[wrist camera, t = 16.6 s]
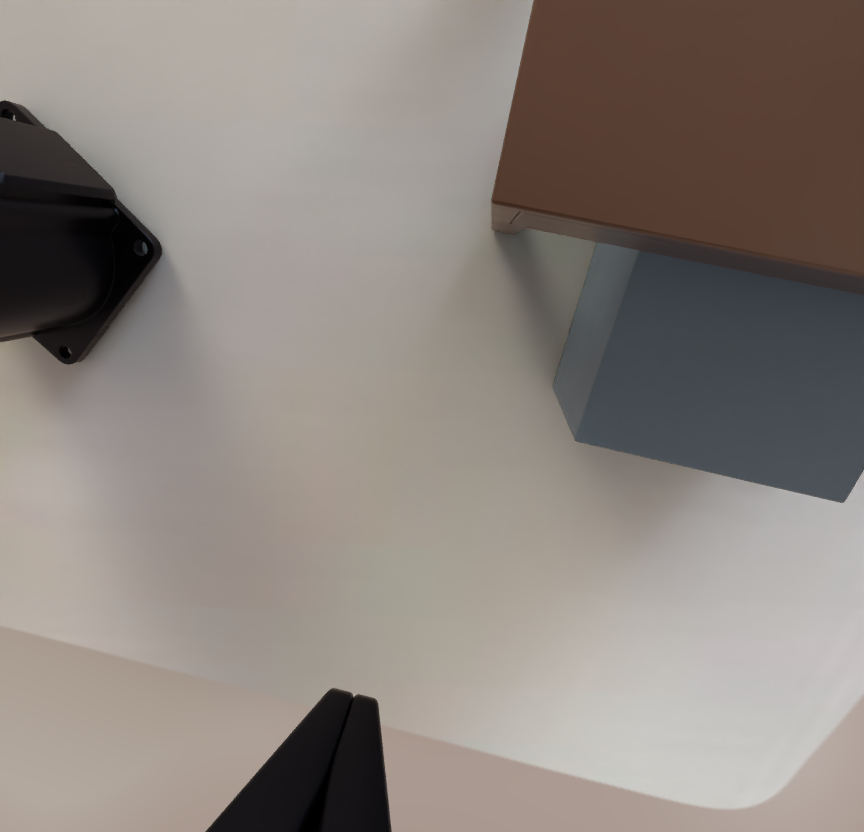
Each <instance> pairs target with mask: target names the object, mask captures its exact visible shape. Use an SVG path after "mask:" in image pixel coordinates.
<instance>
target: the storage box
mask: <svg viewBox="0 0 864 832" xmlns="http://www.w3.org/2000/svg"><path fill="white" fill-rule="evenodd" d="M553 390H554V392H555V394H556V397H557V399H558V401H559V404H560V406H561V408H562V411H563V413H564V415H565V418H566V420H567V423H568V425H569V427H570V430H571V432H572V434H573V437H574V439H575V441H577V442H581V443H585V444H589V445H594V446H598V447H602V448H607V449H611V450H615V451H620V452H624V453H628V454H633V455H637V456H641V457H646V458H650V459H654V460H658V461H663V462H667V463H671V464H676V465H680V466H684V467H689V468H693V469H697V470H702V471H706V472H710V473H715V474H719V475H723V476H728V477H732V478H736V479H741V480H745V481H749V482H754V483H758V484H762V485H767V486H771V487H775V488H780V489H784V490H788V491H792V492H797V493H801V494H805V495H810V496H814V497H818V498H823V499H827V500H831V501H836V502H840V503H843V502H844V501H845V500H846V499H847V497H848V495H849V494H850V492H851V490H852V489H853V487H854V485H855V484H856V482H857V480H858V479H859V477H860V475H861V474H862V472H863V470H864V295H861V294H856V293H851V292H846V291H841V290H836V289H831V288H826V287H821V286H816V285H810V284H805V283H800V282H795V281H790V280H785V279H780V278H775V277H770V276H765V275H760V274H755V273H750V272H745V271H740V270H735V269H730V268H725V267H720V266H715V265H710V264H705V263H700V262H695V261H690V260H685V259H680V258H675V257H670V256H665V255H660V254H655V253H650V252H645V251H640V250H635V249H629V248H624V247H619V246H614V245H609V244H604V243H599V242H597V244H596V247H595V250H594V253H593V257H592V260H591V263H590V266H589V270H588V273H587V276H586V279H585V283H584V286H583V289H582V292H581V296H580V299H579V302H578V305H577V309H576V312H575V315H574V318H573V322H572V325H571V328H570V331H569V335H568V338H567V341H566V344H565V348H564V351H563V354H562V357H561V361H560V364H559V367H558V370H557V374H556V377H555V380H554V383H553Z"/></svg>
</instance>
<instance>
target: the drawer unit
mask: <svg viewBox="0 0 864 832" xmlns="http://www.w3.org/2000/svg"><path fill="white" fill-rule="evenodd" d="M491 216H492V230H495V231H500V232H505V233H510V234H516V233H518V232H520V231H522V230H524V229H526V228H529V229H534V230H539V231H544V232H549V233H554V234H559V235H564V236H569V237H574V238H579V239H584V240H589V241H594V242H599V243H604V244H609V245H614V246H619V247H624V248H629V249H635V250H640V251H645V252H650V253H655V254H660V255H665V256H670V257H675V258H680V259H685V260H690V261H695V262H700V263H705V264H710V265H715V266H720V267H725V268H730V269H735V270H740V271H745V272H750V273H755V274H760V275H765V276H770V277H775V278H780V279H785V280H790V281H795V282H800V283H805V284H810V285H816V286H821V287H826V288H831V289H836V290H841V291H846V292H851V293H856V294H861V295H864V0H534V1H533V6H532V11H531V15H530V20H529V25H528V29H527V34H526V39H525V44H524V48H523V53H522V58H521V62H520V67H519V72H518V77H517V81H516V86H515V91H514V95H513V100H512V105H511V110H510V114H509V119H508V124H507V128H506V133H505V138H504V143H503V147H502V152H501V157H500V161H499V166H498V171H497V175H496V180H495V185H494V190H493V194H492V199H491Z"/></svg>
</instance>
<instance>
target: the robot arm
mask: <svg viewBox="0 0 864 832" xmlns="http://www.w3.org/2000/svg"><path fill="white" fill-rule="evenodd" d="M14 115H15V118H16V121H14V120H13V116H14ZM143 242H145V244H146V245H147V249H148V251H147V254H145V253H144V251H143V250H142V243H143ZM161 254H162V248H161V245H160V242H159V241H158V240H157V238H156V237H155V236H154V235H153V234H152V233H151V232H150V231H149V230H148V229H147V228H146V227H145V226H144V225H143V224H142V223H141V222H140V221H139V220H138V219H137V218H136V217H135V216H134V215H133V214H132V213H131V212H130V211H129V210H128V209H127V208H126V207H125V206H124V205H123V204H122V203H121V202H120V201H119V200H118V199H117V196H116V194H115V191H114V189H113V188H112V187H111V186H110V185H109V184H108V183H107V182H106V181H105V180H104V179H103V178H102V177H101V176H100V175H99V174H98V173H97V172H96V171H95V170H94V169H93V168H92V167H91V166H90V165H89V164H88V163H87V162H86V161H85V160H84V159H83V158H82V157H81V156H80V155H79V154H78V153H77V152H76V151H75V150H74V149H73V148H72V147H71V146H70V145H69V144H68V143H67V142H66V141H65V140H64V139H63V138H62V137H61V136H60V135H59V134H58V133H57V132H55V131H52V130H48V129H46V128H45V127H44V126H43V125H42V124H41V123H40V122H39V121H38V120H37V119H36V118H35V117H34V116H33V115H32V114H31V113H30V112H29V111H28V110H27V109H26V108H25V107H23V106H22V105H19V104H16V103H12V102H9V101H5V100H4V101H1V102H0V342H6V341H11V340H16V339H21V338H26V337H31V336H32V337H33V338H35V339H36V340H37V341H38V342H39V343H40V344H41V345H42V346H43V347H45V348H46V349H47V350H48V351H49V352H50V353H51V354H52V355H54V356H55V357H56V358H57V359H58V360H59V361H61V362H62V363H64V364H68V365H69V364H74V363H78V362H81V361H82V360H84V359H85V357H86V356H87V355H88V353H89V352H90V351H91V349H92V348H93V347H94V345H95V344H96V343H97V341H98V340H99V339H100V337H101V336H102V335H103V333H104V332H105V331H106V329H107V328H108V327H109V325H110V324H111V323H112V321H113V320H114V319H115V317H116V316H117V315H118V313H119V312H120V311H121V309H122V308H123V307H124V305H125V304H126V303H127V301H128V300H129V299H130V297H131V296H132V295H133V293H134V292H135V291H136V289H137V288H138V287H139V285H140V284H141V283H142V281H143V280H144V279H145V277H146V276H147V275H148V273H149V272H150V271H151V269H152V268H153V267H154V265H155V264H156V263H157V261H158V260H159V259H160V256H161ZM68 348H69V349H70V350H71V354H70V353H69V351H68ZM206 832H392V831H391V823H390V812H389V803H388V793H387V783H386V774H385V765H384V755H383V745H382V735H381V726H380V716H379V707H378V702H377V700H376V699H375V698H372V697H368V696H364V695H360V694H357V695H355V696H354V698H353V694H352V693H351V692H348V691H344V690H340V689H336V688H332V689H330V690H329V691H328V692H327V693H326V694H325V695H324V696H323V697H322V698H321V700H320V701H319V702H318V703H317V704H316V705H315V706H314V708H313V709H312V710H311V711H310V712H309V713H308V714H307V716H306V717H305V718H304V719H303V720H302V721H301V723H300V724H299V725H298V726H297V727H296V729H294V731H293V732H292V733H291V734H290V735H289V736H288V738H287V739H286V740H285V741H284V742H283V743H282V744H281V746H280V747H279V748H278V749H277V750H276V751H275V752H274V754H273V755H272V756H271V757H270V758H269V759H268V760H267V762H266V763H265V764H264V765H263V766H262V767H261V769H260V770H259V771H258V772H257V773H256V774H255V776H254V777H253V778H252V779H251V780H250V781H249V782H248V783H247V785H246V786H245V787H244V788H243V789H242V790H241V792H240V793H239V794H238V795H237V796H236V797H235V798H234V800H233V801H232V802H231V803H230V804H229V805H228V806H227V808H226V809H225V810H224V811H223V812H222V813H221V814H220V816H219V817H218V818H217V819H216V820H215V821H214V822H213V824H212V825H211V826H210V827H209V828H208V829H207V831H206Z"/></svg>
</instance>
